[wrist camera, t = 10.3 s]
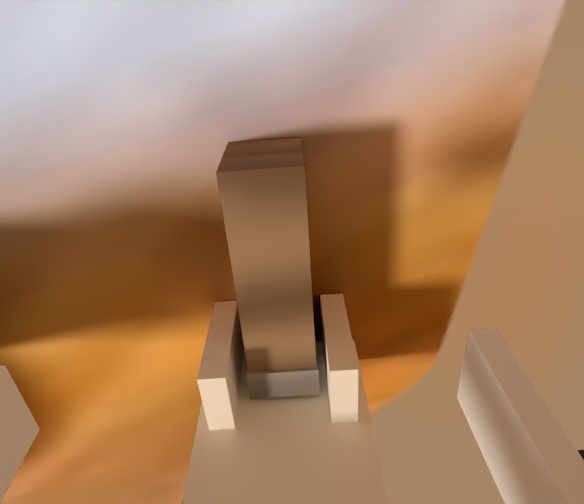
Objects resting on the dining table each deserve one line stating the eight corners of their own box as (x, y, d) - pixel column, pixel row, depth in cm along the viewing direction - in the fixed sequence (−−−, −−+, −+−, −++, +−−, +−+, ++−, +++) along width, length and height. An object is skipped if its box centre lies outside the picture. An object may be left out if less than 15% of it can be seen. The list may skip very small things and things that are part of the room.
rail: (226, 142, 24) (213, 174, 20) (302, 136, 24) (307, 167, 20) (255, 341, 31) (250, 399, 27) (314, 337, 31) (319, 394, 27)
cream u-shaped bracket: (203, 302, 30) (129, 580, 15) (353, 292, 29) (420, 564, 15) (217, 372, 33) (167, 657, 18) (354, 363, 32) (409, 645, 18)
